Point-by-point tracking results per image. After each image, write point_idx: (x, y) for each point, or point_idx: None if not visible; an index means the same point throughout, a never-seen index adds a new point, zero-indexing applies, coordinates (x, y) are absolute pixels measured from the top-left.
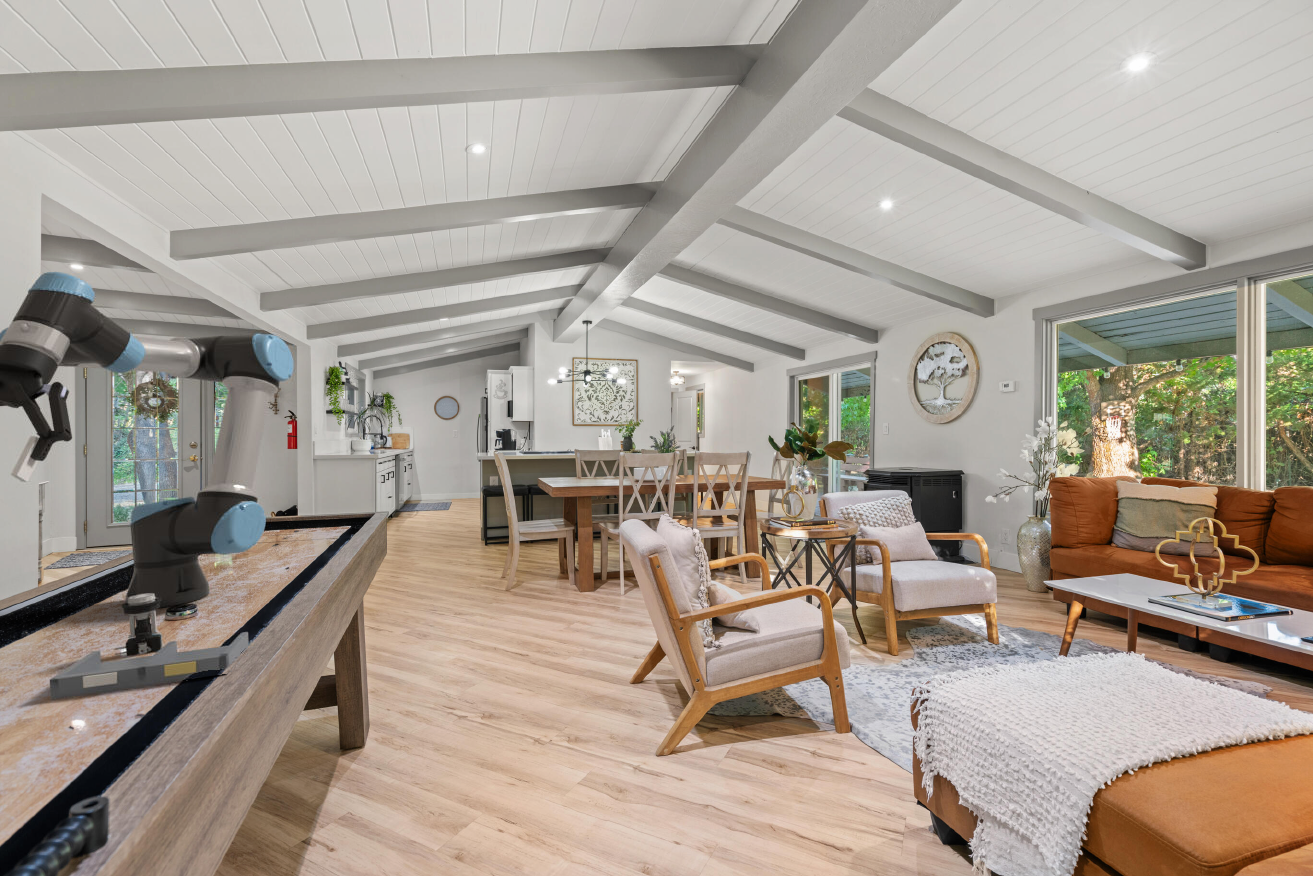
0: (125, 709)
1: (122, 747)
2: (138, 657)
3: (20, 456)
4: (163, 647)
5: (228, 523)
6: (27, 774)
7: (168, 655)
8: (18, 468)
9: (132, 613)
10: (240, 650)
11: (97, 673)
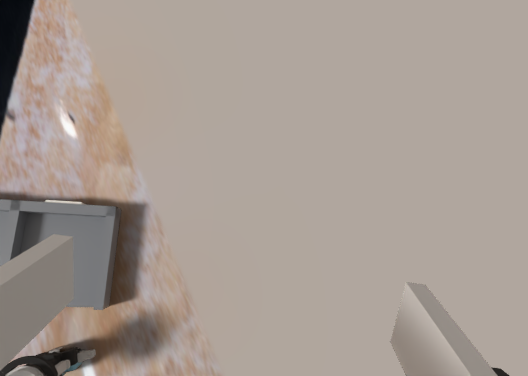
0: (30, 140)
1: (9, 46)
2: None
3: (13, 273)
4: None
5: None
6: (74, 35)
7: None
8: (40, 246)
9: (40, 356)
10: None
11: (66, 203)
